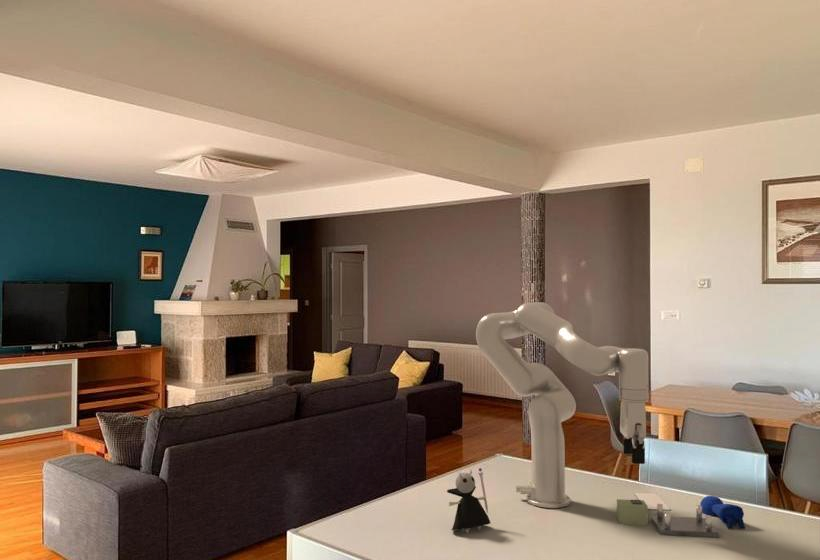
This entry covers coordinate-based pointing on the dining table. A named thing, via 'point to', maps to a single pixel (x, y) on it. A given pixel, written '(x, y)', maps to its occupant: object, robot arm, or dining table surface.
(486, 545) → the dining table surface
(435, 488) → the dining table surface
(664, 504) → the smartphone
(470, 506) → the toy
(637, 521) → the block
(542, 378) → the robot arm
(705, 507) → the toy
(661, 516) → the chassis
